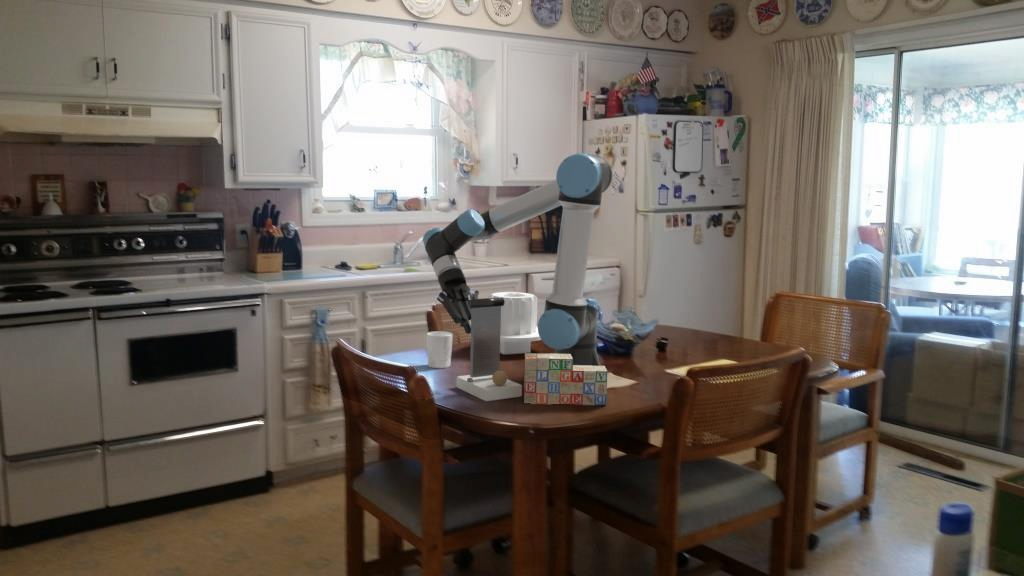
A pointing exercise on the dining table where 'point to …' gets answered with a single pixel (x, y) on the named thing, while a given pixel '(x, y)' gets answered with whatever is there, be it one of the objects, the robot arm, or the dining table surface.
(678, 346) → the dining table surface
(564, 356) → the stack of blocks
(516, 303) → the ribbed cylinder on disc
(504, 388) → the white slotted base
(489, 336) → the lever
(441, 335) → the white cup
